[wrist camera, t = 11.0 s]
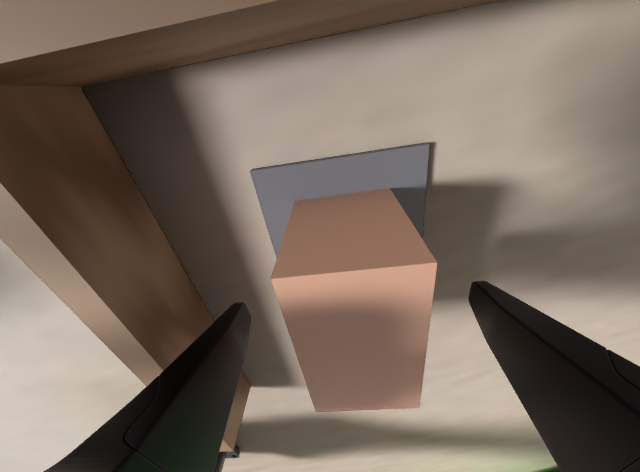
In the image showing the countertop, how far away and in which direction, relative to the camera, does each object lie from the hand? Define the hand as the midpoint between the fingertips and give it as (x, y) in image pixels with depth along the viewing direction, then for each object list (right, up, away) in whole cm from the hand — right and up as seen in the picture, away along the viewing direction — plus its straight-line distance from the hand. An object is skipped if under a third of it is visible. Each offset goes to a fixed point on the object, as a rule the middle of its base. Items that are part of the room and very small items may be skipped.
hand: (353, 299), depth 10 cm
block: (0, +1, +2) cm, 3 cm away
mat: (0, +1, +2) cm, 3 cm away
